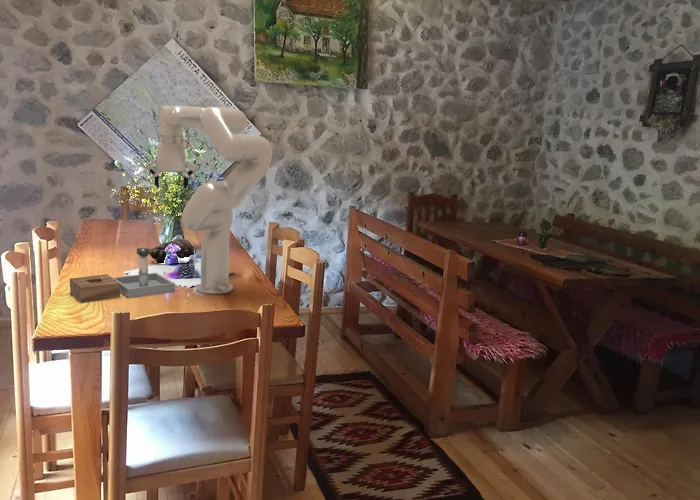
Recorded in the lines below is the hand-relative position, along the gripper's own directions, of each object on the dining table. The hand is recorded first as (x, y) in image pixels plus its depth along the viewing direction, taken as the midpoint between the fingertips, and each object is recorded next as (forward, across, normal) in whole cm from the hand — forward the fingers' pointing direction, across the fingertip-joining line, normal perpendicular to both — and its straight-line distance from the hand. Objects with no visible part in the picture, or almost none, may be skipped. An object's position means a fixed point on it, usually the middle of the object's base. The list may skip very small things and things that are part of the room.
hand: (171, 187), depth 215 cm
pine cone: (+34, -2, -20) cm, 39 cm away
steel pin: (+33, +10, +18) cm, 39 cm away
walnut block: (+33, +26, +23) cm, 48 cm away
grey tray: (+33, +11, +18) cm, 39 cm away
